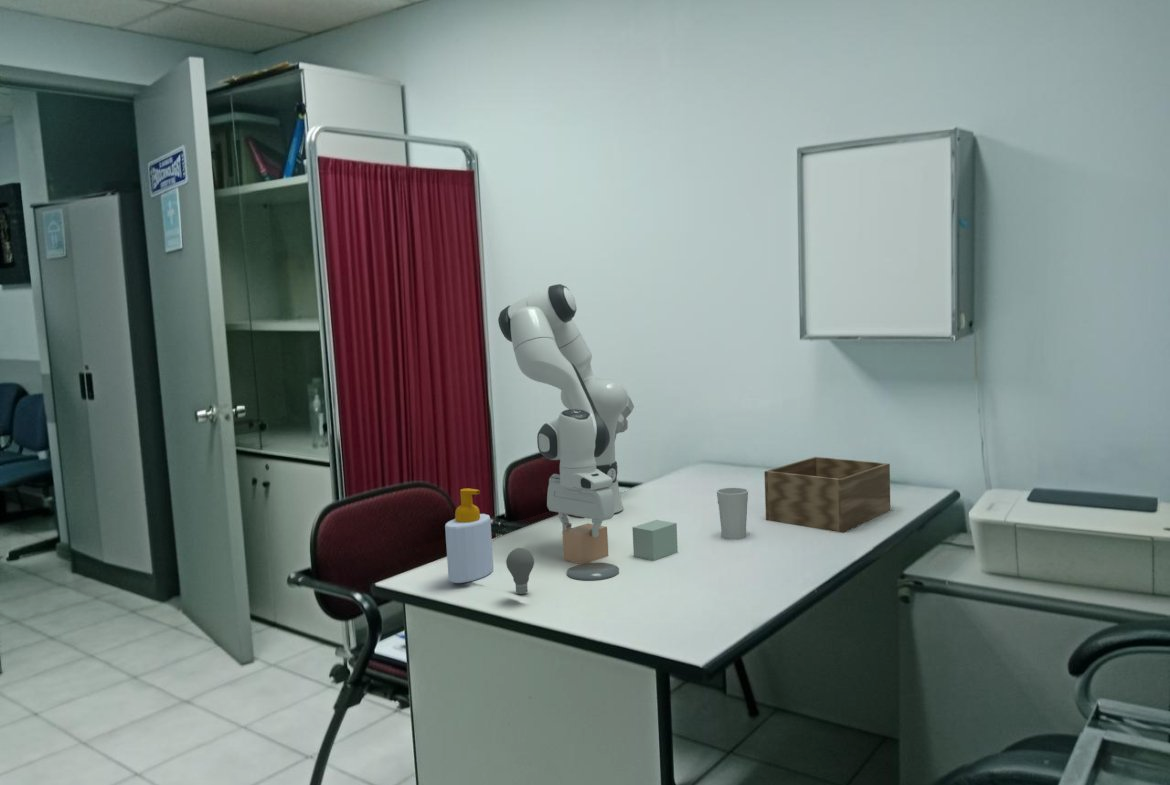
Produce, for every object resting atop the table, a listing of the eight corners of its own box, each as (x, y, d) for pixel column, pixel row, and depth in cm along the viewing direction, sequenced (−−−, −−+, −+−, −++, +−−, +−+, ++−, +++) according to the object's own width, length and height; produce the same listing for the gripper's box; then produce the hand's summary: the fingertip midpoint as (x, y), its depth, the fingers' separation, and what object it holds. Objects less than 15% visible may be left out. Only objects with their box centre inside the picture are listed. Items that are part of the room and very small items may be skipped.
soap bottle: (466, 585, 206) (461, 496, 204) (439, 581, 210) (433, 494, 208) (502, 569, 217) (497, 485, 215) (475, 565, 221) (470, 483, 220)
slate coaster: (556, 574, 211) (555, 572, 211) (592, 562, 219) (592, 559, 219) (593, 583, 203) (593, 581, 203) (629, 570, 211) (629, 568, 211)
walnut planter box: (765, 522, 250) (764, 471, 248) (815, 504, 268) (814, 456, 267) (842, 534, 233) (841, 480, 232) (890, 514, 252) (889, 463, 250)
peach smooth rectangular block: (563, 559, 223) (562, 530, 222) (589, 551, 229) (588, 523, 228) (582, 564, 218) (581, 534, 218) (608, 555, 225) (607, 526, 224)
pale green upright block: (633, 556, 223) (632, 527, 222) (657, 548, 229) (656, 519, 228) (653, 560, 218) (652, 530, 218) (677, 552, 225) (676, 523, 224)
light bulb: (508, 590, 201) (505, 545, 200) (535, 588, 202) (532, 543, 201) (508, 599, 195) (505, 553, 194) (536, 596, 196) (533, 551, 195)
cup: (749, 540, 232) (747, 493, 231) (717, 540, 233) (715, 494, 232) (750, 532, 240) (748, 487, 238) (719, 532, 241) (717, 487, 240)
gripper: (539, 474, 227) (542, 529, 228) (598, 483, 212) (600, 542, 213) (558, 471, 231) (560, 525, 232) (617, 479, 217) (619, 537, 218)
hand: (580, 533), depth 223 cm, fingers open, 8 cm apart
